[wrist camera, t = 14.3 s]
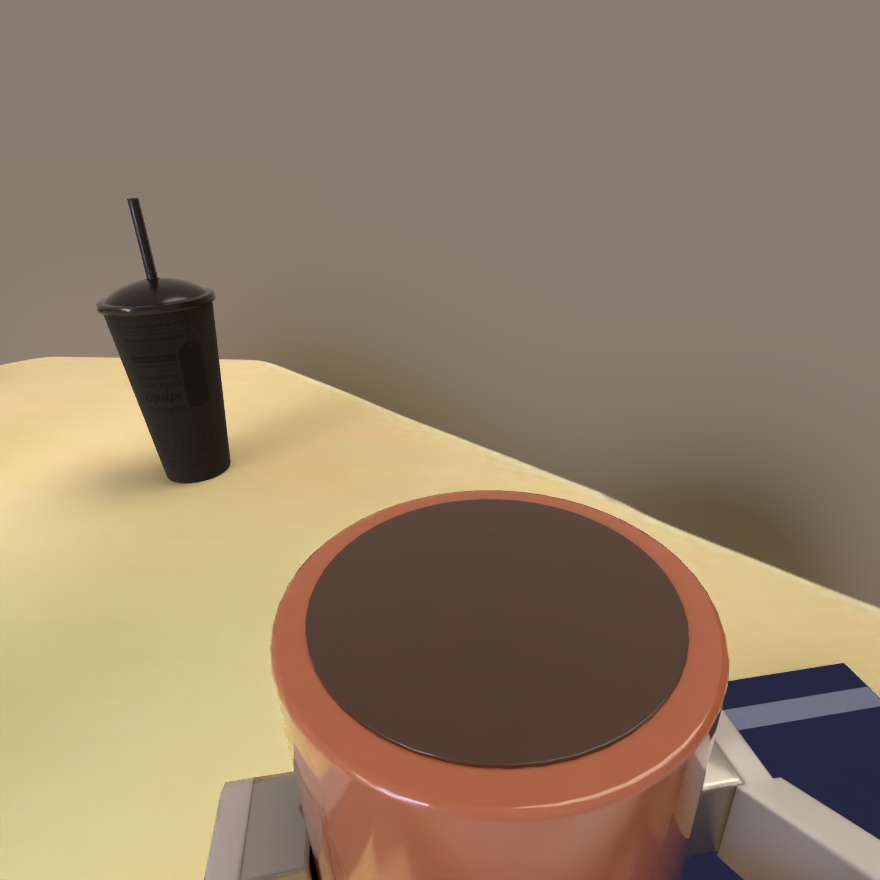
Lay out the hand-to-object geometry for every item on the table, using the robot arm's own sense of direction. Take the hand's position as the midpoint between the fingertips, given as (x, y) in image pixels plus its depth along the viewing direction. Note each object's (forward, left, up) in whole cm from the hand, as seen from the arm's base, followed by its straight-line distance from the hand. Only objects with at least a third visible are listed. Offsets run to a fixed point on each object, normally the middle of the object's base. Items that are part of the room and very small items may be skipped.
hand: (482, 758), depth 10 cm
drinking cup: (+23, +32, -11) cm, 41 cm away
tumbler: (-1, 0, -5) cm, 6 cm away
